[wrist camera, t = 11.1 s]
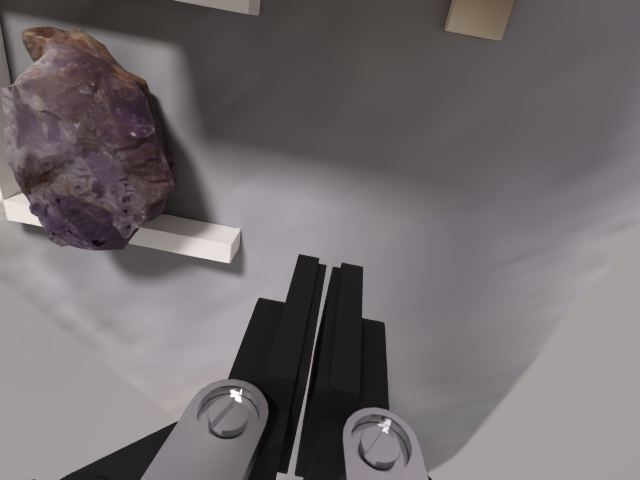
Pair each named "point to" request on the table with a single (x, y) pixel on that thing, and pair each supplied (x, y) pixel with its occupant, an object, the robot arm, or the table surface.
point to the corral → (164, 231)
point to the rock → (85, 142)
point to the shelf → (479, 17)
